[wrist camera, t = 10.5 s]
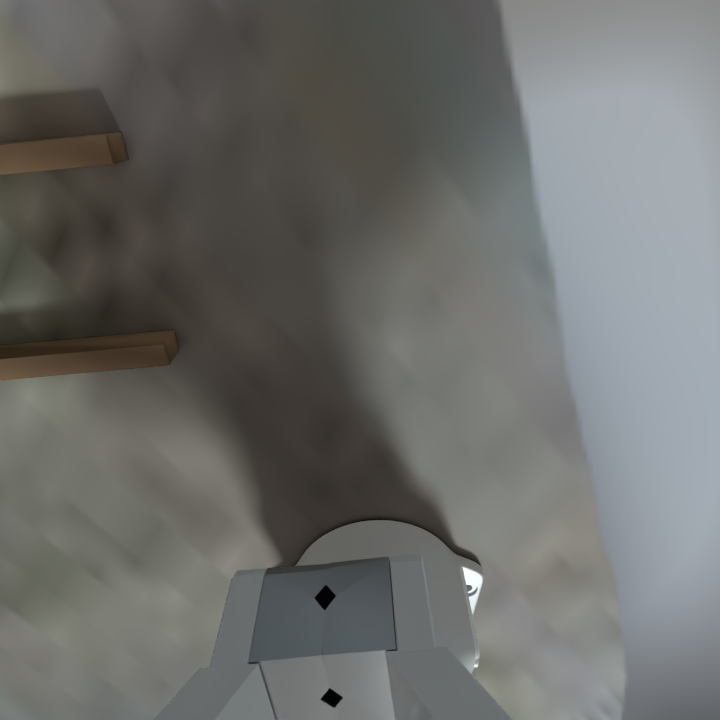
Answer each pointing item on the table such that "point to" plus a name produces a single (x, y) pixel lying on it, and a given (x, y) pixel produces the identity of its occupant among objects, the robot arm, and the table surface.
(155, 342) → the beam slot
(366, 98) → the table surface
